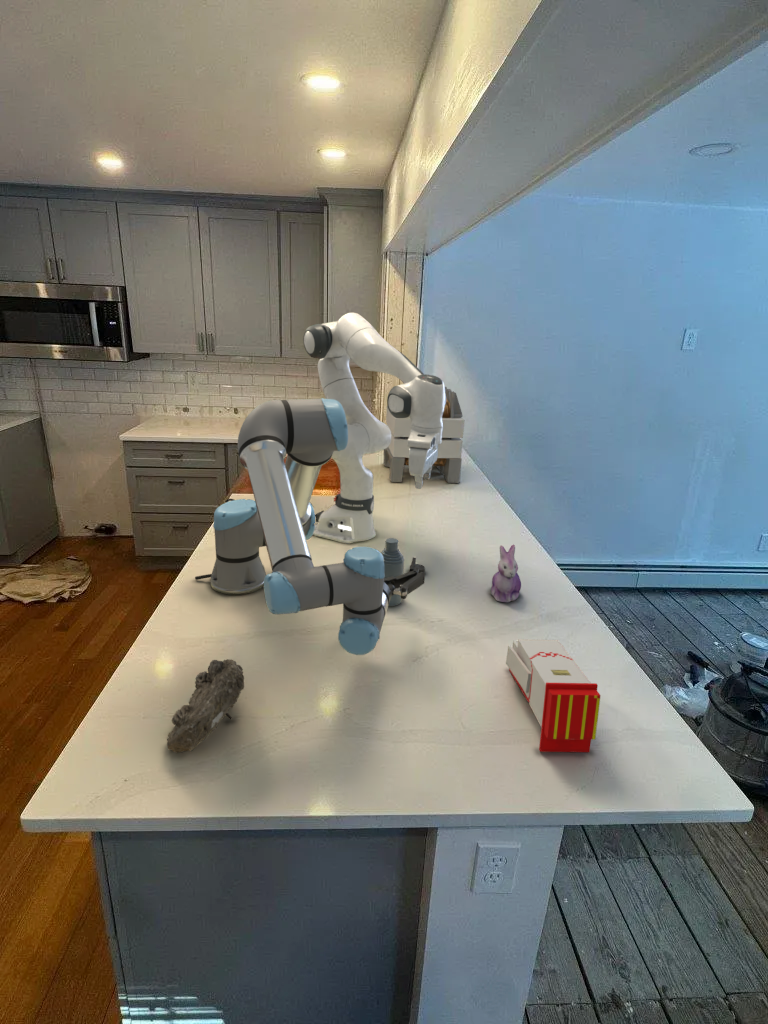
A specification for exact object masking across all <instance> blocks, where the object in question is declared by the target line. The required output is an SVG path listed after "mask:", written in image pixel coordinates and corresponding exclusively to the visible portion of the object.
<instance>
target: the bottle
mask: <svg viewBox="0 0 768 1024" xmlns="http://www.w3.org/2000/svg"><path fill="white" fill-rule="evenodd" d="M399 543H400V541H399V539H398V538H394V537H388V538H386V539H385V544H384V545H385V547H384V548H383V550H382V551H381V552H380V553H381V554H382V555H383V558H384V574H385V577H384V578H388V577H391V576H393V577H396V576H399V575H402V574H405V557H404V555H403V553H402V552H401V550H400V548H399ZM402 602H403V599H401V595H397V594H394V595H393V596H391V599H390V602H389V606H388V607H395V606H398V605H400V604H401V603H402Z"/></svg>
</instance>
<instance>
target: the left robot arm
mask: <svg viewBox="0 0 768 1024" xmlns="http://www.w3.org/2000/svg"><path fill="white" fill-rule="evenodd" d="M347 443H348V426H347V420H346V416H345V412H344V409H343V407H342V405H341V404H340V402H339V401H337V400H335V399H326V398H325V397H321V398H302V399H300V398H299V399H271V400H267V401H263V402H262V403H260V404H259V405H257V406H256V407H254V408H253V409H252V410H251V411H250V412H249V413H248V414H247V416H246V417H245V418H244V421H243V422H242V424H241V427H240V429H239V433H238V436H237V453H238V459H239V462H240V464H241V466H242V467H243V468H245V469H246V470H247V474H248V477H249V481H250V486H251V489H252V494H253V499H246V498H241V499H234V500H233V501H228V502H224V503H222V504H220V505H219V506H218V507H216V508H215V510H214V513H213V525H212V526H213V530H214V543H215V545H214V546H215V561H214V565H213V569H212V570H211V571H212V572H211V573H208V574H202V575H197V576H195V577H194V579H195V581H199V580H204V579H208V578H209V579H210V586H211V588H212V589H213V590H214V591H216V592H218V593H220V594H224V595H235V596H236V595H238V596H239V595H245V594H250V593H254V592H257V591H259V590H261V589H263V592H264V599H265V604H266V606H267V609H268V611H269V612H270V613H271V614H273V615H286V614H297V613H299V612H305V611H309V610H314V609H319V608H325V607H326V608H327V607H332V606H339V605H342V606H343V607H342V622H341V623H340V625H339V629H338V630H339V631H338V633H337V637H338V638H337V639H338V642H339V644H340V646H341V648H342V649H344V651H345V652H347V653H348V654H351V655H355V656H365V655H367V654H369V653H371V652H372V651H374V649H375V648H376V645H377V643H378V641H379V640H380V637H381V636H380V635H381V630H382V627H383V624H384V621H385V618H386V614H387V611H388V609H389V607H390V606H389V602H390V599H391V596H393V595H394V594H397V595H401V599H402V600H405V599H407V597H408V596H409V594H411V593H412V592H414V591H415V590H417V589H418V588H420V587H421V586H423V585H425V582H426V581H425V580H426V572H425V573H423V572H421V573H419V567H418V566H415V565H416V564H417V557H412V560H411V563H410V565H411V567H410V566H409V570H410V572H409V571H407V572H404V574H402V575H399V576H396V577H393V576H391V577H388V578H384V577H385V574H384V558H383V555H382V554H381V552H380V551H379V550H378V549H376V548H373V547H369V546H355V547H352V548H350V549H348V550H346V552H344V558H343V560H342V561H343V562H338V563H331V564H326V565H324V564H323V565H317V566H314V563H313V558H312V555H311V552H310V548H309V543H308V540H310V539H311V538H312V536H314V535H313V532H314V529H315V526H314V525H316V517H315V515H316V513H315V509H314V507H313V504H312V503H311V502H310V501H311V498H312V495H313V492H314V490H315V486H316V483H317V480H318V477H319V475H320V472H321V469H322V466H324V465H325V464H327V463H328V462H329V461H330V460H331V459H332V458H331V457H332V454H333V452H334V451H340V450H344V449H345V448H346V447H347ZM263 547H265V548H266V552H267V555H268V559H269V564H270V567H271V573H267V572H266V568H265V565H264V563H263V561H262V559H261V556H260V548H263Z"/></svg>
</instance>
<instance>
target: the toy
mask: <svg viewBox="0 0 768 1024" xmlns="http://www.w3.org/2000/svg"><path fill="white" fill-rule="evenodd" d="M505 659H506V660H505V665H506V666H507V667H508V671H509V673H510V674H511V676H512V678H513V679H514V681H515V682H516V685H517V686H518V688H519V690H520V691H521V692H522V694H523V697H525V699H526V701H527V703H529V707H530V709H531V711H532V712H533V714H534V716H535V718H536V720H537V722H538V724H539V726H540V728H541V729H540V739H539V748H538V751H539V752H540V753H543V752H544V753H590V752H591V744H592V743H591V742H592V740H596V736H597V727H598V720H599V719H598V718H599V710H600V704H601V703H600V702H601V696H602V695H601V694H600V693H599V692H598V687H599V686H598V683H595V682H594V683H592V682H591V681H590V679H589V678H588V677H587V676H586V674H585V673H584V671H583V670H582V669H581V668H580V666H579V665H578V664H577V663H576V662H575V661H576V660H574V659H573V658H572V656H571V655H570V653H568V651H567V650H566V648H565V647H564V645H563V644H562V643H561V642H560V641H559V639H529V638H528V639H524V638H521V639H517V640H512V645H511V644H510V645H509V644H508V646H507V653H506V658H505Z"/></svg>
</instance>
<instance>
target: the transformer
mask: <svg viewBox="0 0 768 1024" xmlns="http://www.w3.org/2000/svg"><path fill="white" fill-rule="evenodd" d="M444 388H445V394H446V405H445V407H444V412H443V415H442V422H443V431H442V443H440V444H438V456H437V460H436V461H435V463H434V464H433V465H432V467H436V468H437V470H438V469H439V473H440V474H441V475H443V478H444V479H445V481H446V482H447V483H449V484H455V483H456V484H459V483H461V472H462V461H463V460H462V453H463V442H464V441H463V440H462V439H463V438H464V431H465V430H464V429H465V419H464V418H463V411H462V408H461V405H460V402H459V398H458V395H457V392H455V391H453V390H452V389H451V388H447V386H444ZM385 414H386V415H385V424H386V425H387V426H388V427H389V429H390V432H391V443H390V445H389V446H388V448H386V449H384V450H383V466H384V467H388V468H389V475H388V476H389V477H388V478H389V480H390V482H391V483H402V482H403V475H404V469H405V466H406V467H407V466H408V467H409V449H410V447H408V446H407V442H408V438H409V436H410V431H411V419H410V418H409V419H399V418H395V417H394V416H393V415H392V414H391V413H390V412H389V409H388V406H387V405H386V413H385Z"/></svg>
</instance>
